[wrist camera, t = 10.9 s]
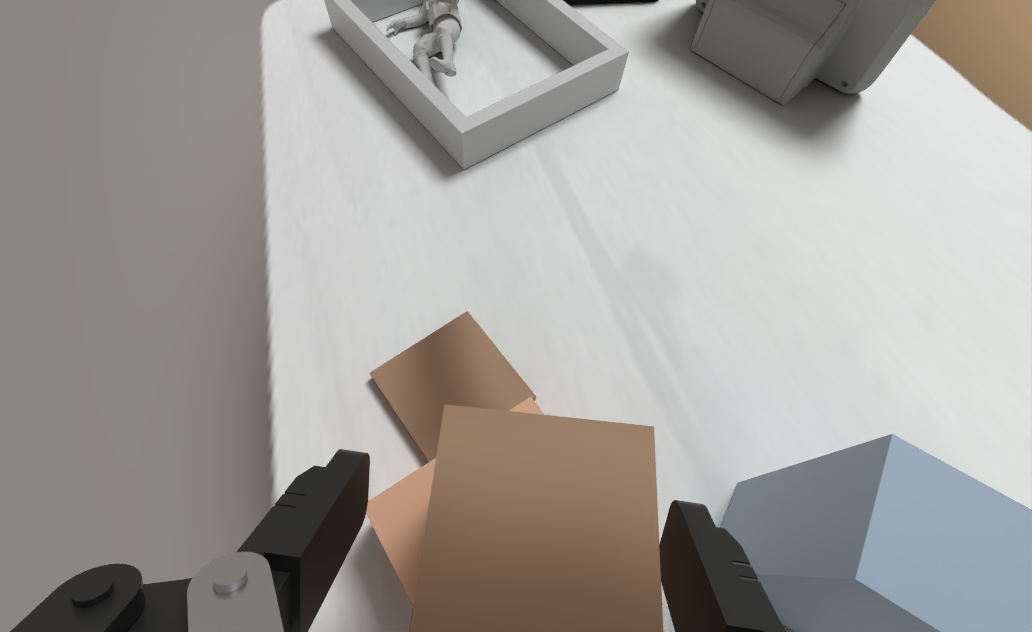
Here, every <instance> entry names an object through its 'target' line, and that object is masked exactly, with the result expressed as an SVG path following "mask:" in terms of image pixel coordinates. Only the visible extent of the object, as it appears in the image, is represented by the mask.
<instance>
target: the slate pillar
mask: <svg viewBox="0 0 1032 632" xmlns="http://www.w3.org/2000/svg"><path fill="white" fill-rule="evenodd" d="M720 528H725V529H726V530H727V531H728V532H729V533H730V534H731V535H732V536H733V537H734V538H735V539H736V540H737V541H738V542H739V544H740V545H741V546H742V548H743V550H744V552H745V554H746V556H747V558H748V560H749V561H750V566H751V567H753V569H754V571H755V573H756V575H757V577H758V582H760V583H761V585H762V587H763V589H764V591H765V593H766V594H767V596H768V598H769V600H770V602H771V604H772V606H773V608H774V610H775V612H776V614H777V616H778V618H779V620H780V622H781V623H782V624H783V625H785V626H786V627H788V628H789V629H791V630H792V631H794V632H1032V510H1031V509H1029V508H1027V507H1025V506H1024V505H1022V504H1020V503H1018V502H1016V501H1014V500H1013V499H1011V498H1009V497H1007V496H1005V495H1003V494H1002V493H1000V492H998V491H996V490H994V489H992V488H991V487H989V486H987V485H985V484H983V483H981V482H980V481H978V480H976V479H974V478H972V477H970V476H969V475H967V474H965V473H963V472H961V471H959V470H957V469H956V468H954V467H952V466H950V465H948V464H946V463H945V462H943V461H941V460H939V459H937V458H935V457H934V456H932V455H930V454H928V453H926V452H924V451H923V450H921V449H919V448H917V447H915V446H913V445H912V444H910V443H908V442H906V441H904V440H902V439H901V438H899V437H897V436H895V435H893V434H891V435H888V436H885V437H881V438H878V439H875V440H872V441H869V442H866V443H862V444H859V445H856V446H853V447H850V448H847V449H843V450H840V451H837V452H834V453H831V454H828V455H824V456H821V457H818V458H815V459H812V460H808V461H805V462H802V463H799V464H796V465H793V466H789V467H786V468H783V469H780V470H777V471H774V472H770V473H767V474H764V475H761V476H758V477H754V478H751V479H748V480H745V481H742V482H739V483H738V484H737V486H736V489H735V491H734V494H733V496H732V499H731V501H730V504H729V506H728V509H727V512H726V514H725V517H724V519H723V522H722V524H721V527H720Z"/></svg>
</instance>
